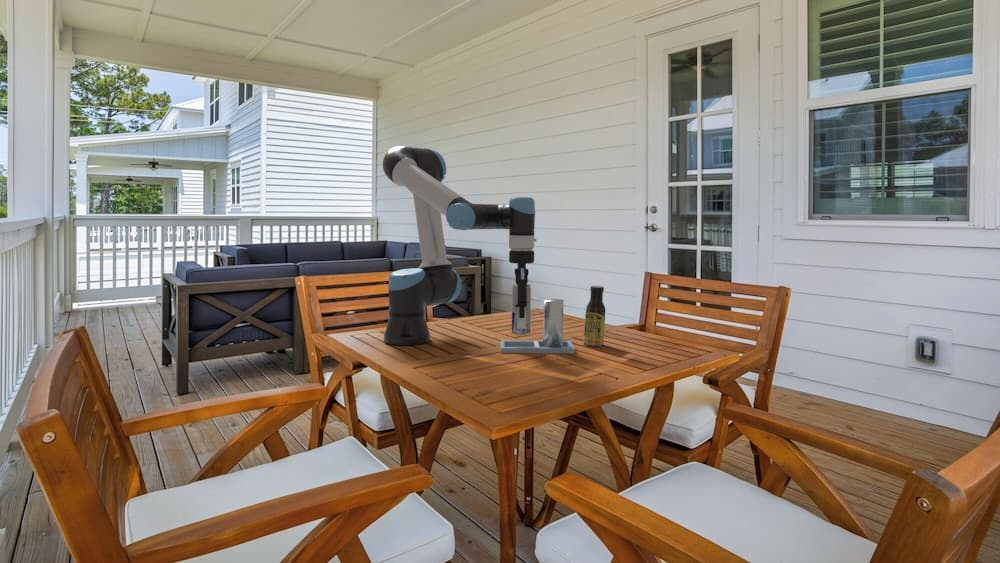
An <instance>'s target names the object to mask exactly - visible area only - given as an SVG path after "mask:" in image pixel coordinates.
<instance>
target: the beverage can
mask: <svg viewBox="0 0 1000 563" xmlns="http://www.w3.org/2000/svg"><path fill="white" fill-rule="evenodd" d="M511 286H512V287H511V333H512V334H513V335H515V336H525V335H526V336H527V335H529V334H531V310H532V309H531V306H532V305H531V302H532V301H531V298H532V293H531V292H532V287H531V284H528V283H527V306H526V329H517V307H515V305H517V304H518V285H517V284H516V283H515V284H512V285H511Z"/></svg>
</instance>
